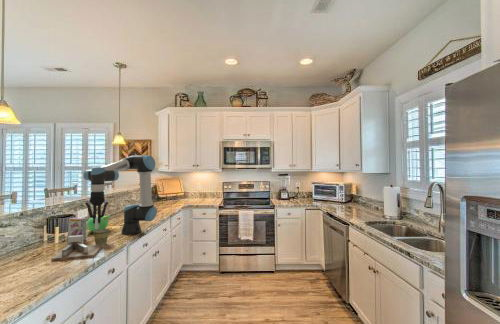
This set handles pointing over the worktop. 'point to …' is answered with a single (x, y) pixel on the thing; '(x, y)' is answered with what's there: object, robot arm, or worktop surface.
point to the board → (76, 252)
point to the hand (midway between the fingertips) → (96, 228)
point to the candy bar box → (77, 227)
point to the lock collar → (75, 239)
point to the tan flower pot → (101, 236)
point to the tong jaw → (82, 248)
